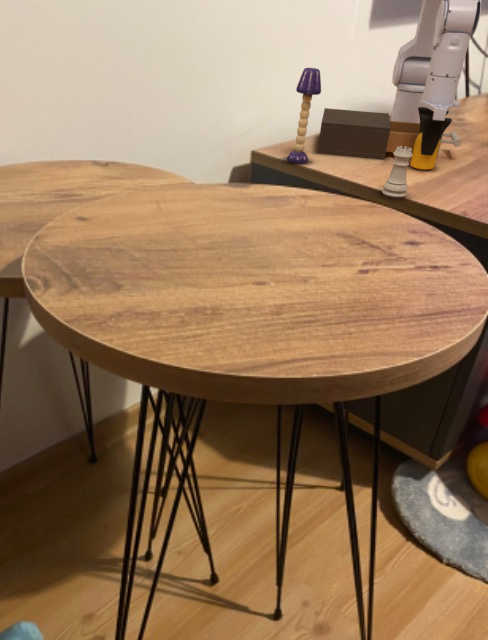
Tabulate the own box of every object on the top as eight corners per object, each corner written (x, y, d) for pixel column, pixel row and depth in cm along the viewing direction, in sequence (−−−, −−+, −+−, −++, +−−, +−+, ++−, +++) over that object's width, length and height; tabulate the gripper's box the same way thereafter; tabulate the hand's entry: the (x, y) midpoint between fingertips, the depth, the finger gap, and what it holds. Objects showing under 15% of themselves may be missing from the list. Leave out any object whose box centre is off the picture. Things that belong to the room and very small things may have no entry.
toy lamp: (297, 155, 133) (308, 65, 123) (315, 161, 131) (329, 69, 121) (282, 160, 131) (293, 68, 121) (300, 165, 128) (313, 72, 118)
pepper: (409, 160, 132) (418, 122, 127) (433, 163, 131) (442, 124, 126) (410, 168, 128) (419, 128, 124) (434, 170, 127) (445, 131, 123)
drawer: (452, 145, 140) (458, 124, 137) (458, 160, 131) (464, 138, 128) (372, 138, 143) (377, 117, 140) (373, 153, 134) (377, 130, 131)
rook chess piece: (377, 190, 118) (387, 144, 113) (401, 190, 118) (412, 144, 113) (385, 199, 114) (395, 152, 109) (410, 199, 114) (421, 152, 110)
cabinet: (382, 143, 143) (388, 113, 140) (384, 159, 133) (390, 128, 130) (320, 137, 145) (324, 108, 142) (317, 153, 135) (321, 122, 132)
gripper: (471, 83, 113) (450, 163, 121) (462, 69, 125) (443, 143, 133) (429, 80, 114) (411, 160, 123) (423, 66, 126) (407, 139, 134)
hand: (425, 151), depth 128 cm, fingers closed on pepper, 4 cm apart
